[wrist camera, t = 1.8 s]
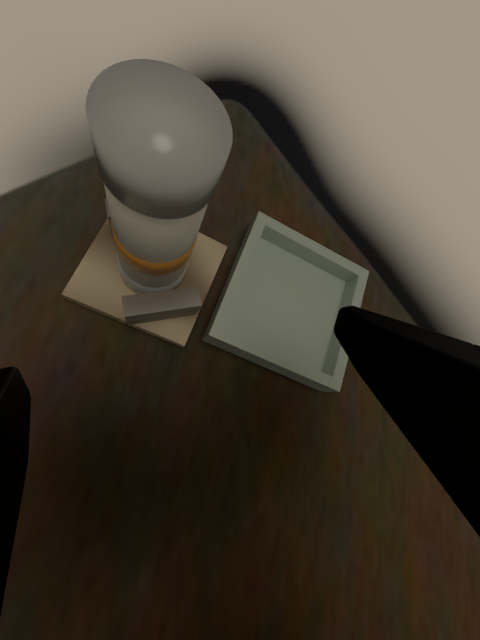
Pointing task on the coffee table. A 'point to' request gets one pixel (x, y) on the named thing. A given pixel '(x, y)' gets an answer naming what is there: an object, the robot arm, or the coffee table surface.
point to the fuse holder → (148, 308)
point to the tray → (286, 305)
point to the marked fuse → (156, 164)
